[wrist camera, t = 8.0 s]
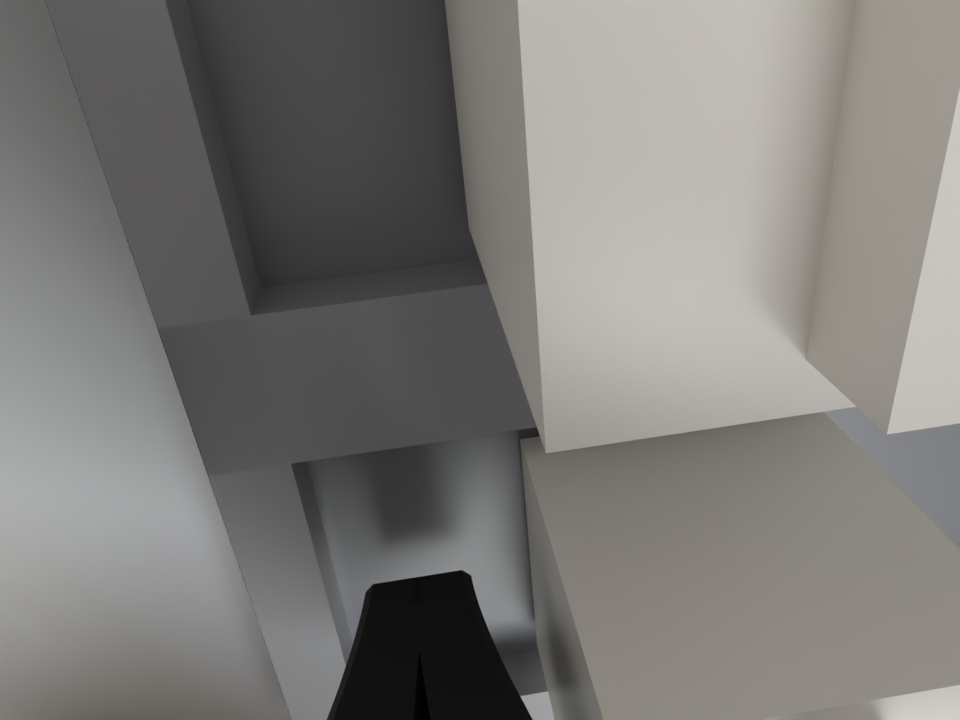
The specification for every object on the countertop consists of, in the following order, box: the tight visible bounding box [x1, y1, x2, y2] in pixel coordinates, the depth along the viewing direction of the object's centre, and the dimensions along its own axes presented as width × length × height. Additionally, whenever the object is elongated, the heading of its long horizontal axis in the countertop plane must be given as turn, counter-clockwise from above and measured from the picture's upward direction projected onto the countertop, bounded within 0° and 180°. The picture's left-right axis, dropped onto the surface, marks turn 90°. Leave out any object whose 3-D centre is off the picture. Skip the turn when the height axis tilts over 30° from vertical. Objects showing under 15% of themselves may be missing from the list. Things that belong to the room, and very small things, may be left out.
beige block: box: [445, 0, 960, 453], centre depth 5 cm, size 4×4×5 cm
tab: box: [520, 412, 960, 720], centre depth 9 cm, size 4×4×5 cm
